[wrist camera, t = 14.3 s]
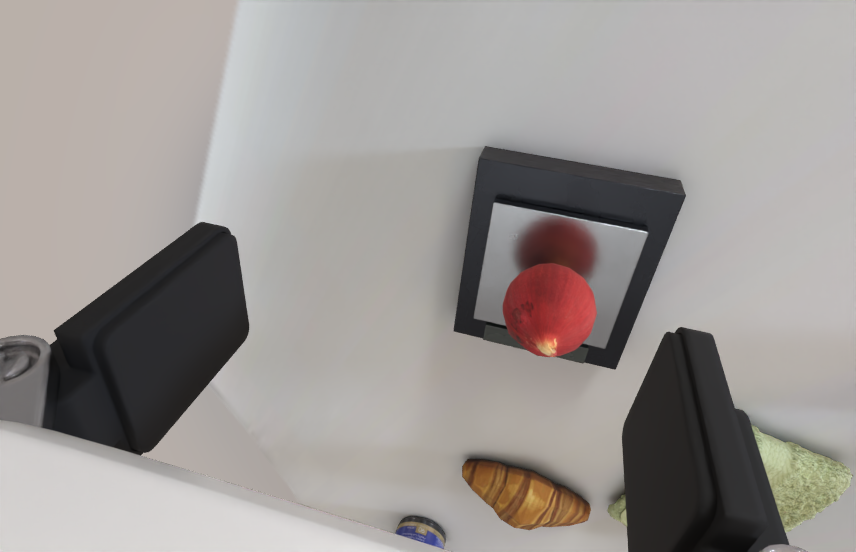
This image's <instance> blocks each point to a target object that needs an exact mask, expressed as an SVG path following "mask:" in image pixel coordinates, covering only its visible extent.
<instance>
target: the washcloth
mask: <svg viewBox="0 0 856 552" xmlns="http://www.w3.org/2000/svg"><path fill="white" fill-rule="evenodd" d="M751 426H752V429H753V432H754V436H755V439H756V442H757V445H758V448H759V451H760V454H761V458H762V461H763V464H764V467H765V470H766V473H767V476H768V480H769V483H770V486H771V489H772V492H773V495H774V498H775V502H776V505H777V508H778V511H779V514H780V517H781V520H782V524H783V527H784V530H785V533H786V532H789V531H791V530H792V528H795V527H796V526H798V525H800V524H801V522H803V521H805V520H809V519H814V517H815V515H816V513H817V512H819V513H820V512H822V511H823V510H824V509H825V507H828V506H829V505H830V504H832V503H833V502H834V501H838V500H839V497H840V495H842V494H843V492H845V490H846V489H847V488H848V487H850V479H851V478H852V477H851V476H853V475H852V474H851V472H850V469H849V468H848V467H846V466H844V464H843V463H840V462H837V461H832V460H831V459H830V458H828V457H824V456H822V455H819V454H816V453H813V452H811V451H808V450H807V449H805V448H802V447H800V446H799V445H798V444H794V443H792V442H782V441H781V440H779V439H776V438H774V437H772V436H769V435H766V434H763V433H761V432H760V431H759V429H758V428H757V427H755V426H754V425H751ZM608 513H609V514H610V516H611V517H613V518H614V519H616V520H618V521H620V522H622V523H623V524H624V525H626V526H627V517H626V499H625V495H622V496H621V498H620V499H618V500H617V502H616V503H615V504H612V505H609V507H608Z"/></svg>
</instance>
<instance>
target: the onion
mask: <svg viewBox="0 0 856 552" xmlns="http://www.w3.org/2000/svg"><path fill="white" fill-rule="evenodd" d="M503 315H504V319H505V323H506V327H507V330H508V333H509V334H510V335H511V337H512V338H513V339H515V340H516V341H517V342H518V343H519V344H520V345H522V346H523V347H524V348H525V349H526V350H528V351H530V352H532V353H534V354H535V355H538V356H544V357H555V356H561V355H564V354H566V353H569V352H571V351H574V350H576V349H577V348H578V347H579V346H580V345H581V344H582V343H583V342H584V341H585V340H586V339H587V338H588V336H589V335H590V334H591V331H592V328H593V325H594V321H595V318H596V315H597V311H596V305H595V298H594V294H593V291H592V289H591V288H590V286H589V285H588V283H587V282H586V280H585V279H584V278H583V277H582V276H580V275H579V274H577V273H576V272H575V271H573V270H572V269H570V268H568V267H565V266H561V265H558V264H554V263H548V264H538V265H536V266H533V267H531V268H528V269H526V270H524V271H522V272H521V273H520V274H519V275H518V276H517V277H516V278H515V279H514V280H513V281H512V282H511V283H510V285H509V287H508V289H507V292H506V295H505V298H504V301H503Z"/></svg>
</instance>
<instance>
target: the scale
mask: <svg viewBox="0 0 856 552" xmlns="http://www.w3.org/2000/svg"><path fill="white" fill-rule="evenodd" d="M685 197H686V194H685V192H684V189H683V186H682V183H681V181H680V180H675V179H669V178H664V177H658V176H652V175H646V174H641V173H635V172H629V171H624V170H618V169H612V168H607V167H601V166H595V165H589V164H584V163H578V162H572V161H567V160H561V159H555V158H550V157H544V156H538V155H532V154H527V153H521V152H515V151H510V150H504V149H498V148H493V147H487V146H485V147H484V149H483V151H482V153H481V155H480V157H479V161H478V168H477V175H476V181H475V188H474V195H473V202H472V209H471V215H470V222H469V229H468V236H467V243H466V249H465V256H464V263H463V270H462V277H461V283H460V290H459V297H458V304H457V311H456V317H455V324H454V331H455V332H459V333H463V334H467V335H471V336H476V337H480V338H483V340H487V341H491V342H495V343H499V344H504V345H508V346H512V347H516V348H520V349H525V348H524V347H523V346H522V345H520V344H519V343H518V342H517V341H516V340H515V339H513V338H512V337H511V335H510V334H509V333H508V330H507V327H506V326H504V325H500V324H496V323H492V322H487V321H483V320H479V319H474V312H475V306H476V300H477V295H478V289H479V283H480V277H481V271H482V266H483V260H484V254H485V248H486V242H487V237H488V231H489V225H490V219H491V214H492V208H493V202H494V200H495V198H499V199H504V200H509V201H515V202H520V203H525V204H530V205H535V206H541V207H546V208H551V209H556V210H562V211H567V212H572V213H577V214H583V215H588V216H593V217H598V218H603V219H609V220H614V221H619V222H624V223H630V224H635V225H640V226H645V227H648V232H649V233H648V236H647V239H646V241H645V244H644V247H643V249H642V252H641V255H640V257H639V260H638V263H637V265H636V268H635V270H634V273H633V276H632V278H631V281H630V284H629V286H628V289H627V292H626V294H625V297H624V300H623V302H622V305H621V308H620V310H619V313H618V316H617V318H616V321H615V324H614V326H613V329H612V332H611V334H610V337H609V340H608V342H607V345H606V348H605V349H604V348H599V347H595V346H591V345H587V344H581V345H580V346H579V347H578V348H577V349H576V350H574V351H571V352H569V353H566V354H564V355H561V356H555V357H558V358H563V359H567V360H571V361H575V362H579V363H584V362H585V363H589V364H594V365H598V366H602V367H606V368H610V369H616V367H617V365H618V363H619V360H620V358H621V355H622V353H623V350H624V348H625V345H626V343H627V340H628V338H629V335H630V333H631V330H632V328H633V325H634V323H635V320H636V318H637V315H638V313H639V311H640V308H641V306H642V303H643V301H644V298H645V296H646V293H647V291H648V288H649V286H650V283H651V281H652V278H653V276H654V273H655V271H656V268H657V266H658V263H659V261H660V259H661V256H662V254H663V251H664V249H665V246H666V244H667V241H668V239H669V236H670V234H671V231H672V229H673V226H674V224H675V221H676V219H677V216H678V214H679V211H680V209H681V207H682V204H683V202H684V199H685ZM525 350H526V349H525Z"/></svg>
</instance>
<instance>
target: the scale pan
mask: <svg viewBox="0 0 856 552" xmlns="http://www.w3.org/2000/svg"><path fill="white" fill-rule="evenodd" d="M648 233H649V232H648V227H645V226H640V225H635V224H630V223H624V222H619V221H614V220H609V219H603V218H598V217H593V216H588V215H583V214H577V213H572V212H567V211H562V210H556V209H551V208H546V207H541V206H535V205H530V204H525V203H520V202H515V201H509V200H504V199H499V198H495V200H494V202H493V208H492V214H491V219H490V225H489V231H488V237H487V242H486V248H485V254H484V260H483V266H482V271H481V277H480V283H479V289H478V295H477V300H476V306H475V312H474V319H479V320H483V321H487V322H492V323H496V324H500V325H504V326H506V323H505V319H504V315H503V301H504V298H505V295H506V292H507V289H508V287H509V285H510V283H511V282H512V281H513V280H514V279H515V278H516V277H517V276H518V275H519V274H520V273H521V272H522V271H524V270H526V269H528V268H531V267H533V266H536V265H538V264H548V263H554V264H558V265H561V266H565V267H568V268H570V269H572V270H573V271H575V272H576V273H577V274H579V275H580V276H582V277H583V278H584V279H585V280H586V282H587V283H588V285H589V286H590V288H591V289H592V291H593V294H594V298H595V305H596V311H597V315H596V318H595V321H594V325H593V328H592V331H591V334H590V335H589V336H588V338H587V339H586V340H585V341H584V342H583V343H582V344H587V345H591V346H595V347H599V348H604V349H605V348H606V345H607V342H608V340H609V337H610V334H611V332H612V329H613V326H614V324H615V321H616V318H617V316H618V313H619V310H620V308H621V305H622V302H623V300H624V297H625V294H626V292H627V289H628V286H629V284H630V281H631V278H632V276H633V273H634V270H635V268H636V265H637V263H638V260H639V257H640V255H641V252H642V249H643V247H644V244H645V241H646V239H647V236H648Z"/></svg>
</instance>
